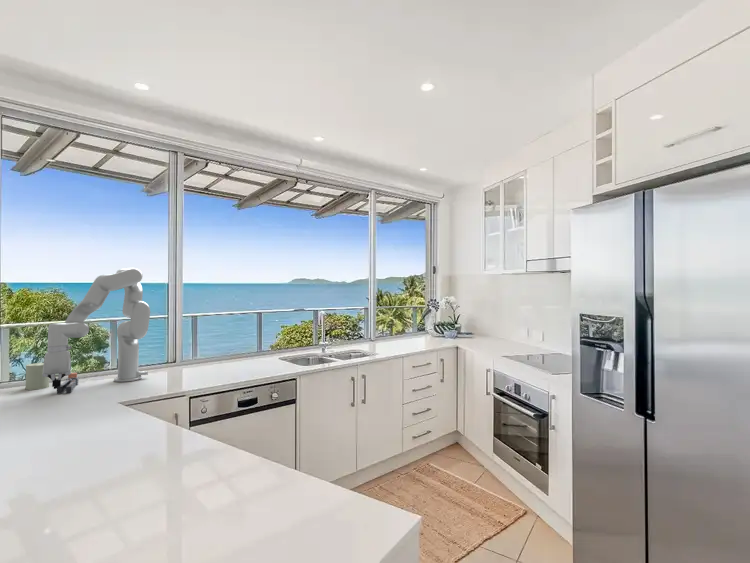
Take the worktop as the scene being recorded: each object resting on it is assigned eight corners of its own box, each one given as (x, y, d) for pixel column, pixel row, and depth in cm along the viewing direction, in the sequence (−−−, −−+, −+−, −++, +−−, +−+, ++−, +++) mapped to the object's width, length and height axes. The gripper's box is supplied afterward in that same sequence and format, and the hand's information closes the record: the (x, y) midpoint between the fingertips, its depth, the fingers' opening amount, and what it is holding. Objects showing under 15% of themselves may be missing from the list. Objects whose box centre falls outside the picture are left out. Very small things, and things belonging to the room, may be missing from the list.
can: (20, 390, 194) (21, 365, 194) (31, 386, 203) (32, 362, 203) (43, 389, 196) (44, 364, 197) (53, 385, 205) (53, 361, 205)
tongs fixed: (67, 384, 206) (67, 377, 206) (78, 383, 209) (78, 376, 209) (59, 394, 186) (59, 387, 186) (71, 393, 188) (71, 385, 188)
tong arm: (66, 385, 202) (66, 379, 202) (71, 385, 203) (71, 379, 203) (56, 393, 186) (56, 387, 186) (61, 393, 187) (61, 387, 187)
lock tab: (68, 377, 207) (69, 373, 207) (77, 376, 208) (77, 372, 208) (68, 378, 205) (68, 374, 205) (76, 377, 206) (76, 373, 206)
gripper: (78, 347, 199) (77, 385, 198) (39, 349, 191) (38, 388, 191) (76, 349, 192) (74, 388, 192) (35, 351, 185) (34, 391, 184)
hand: (56, 388), depth 191 cm, fingers closed
